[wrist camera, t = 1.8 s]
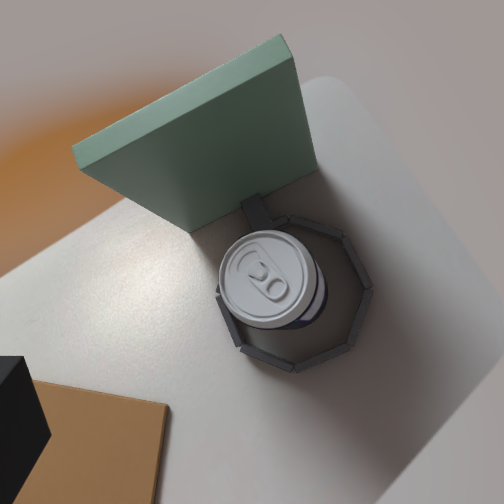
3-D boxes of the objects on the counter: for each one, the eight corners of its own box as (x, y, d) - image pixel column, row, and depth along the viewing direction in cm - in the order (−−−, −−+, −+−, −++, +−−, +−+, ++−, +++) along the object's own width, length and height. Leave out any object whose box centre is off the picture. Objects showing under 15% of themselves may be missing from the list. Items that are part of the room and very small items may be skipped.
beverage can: (289, 242, 37) (260, 203, 25) (343, 290, 35) (339, 271, 24) (242, 295, 37) (191, 280, 25) (294, 344, 35) (265, 352, 24)
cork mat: (168, 404, 37) (165, 405, 36) (132, 651, 34) (128, 657, 34) (-37, 367, 41) (-43, 367, 41) (-82, 582, 39) (-88, 586, 38)
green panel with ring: (398, 328, 34) (435, 328, 18) (253, 391, 35) (175, 440, 20) (310, 154, 37) (280, 32, 22) (182, 218, 39) (70, 146, 24)
